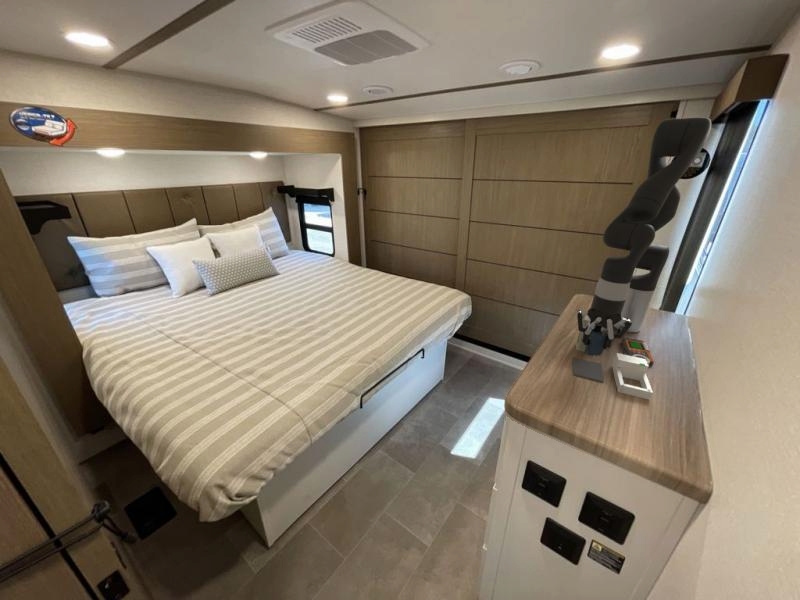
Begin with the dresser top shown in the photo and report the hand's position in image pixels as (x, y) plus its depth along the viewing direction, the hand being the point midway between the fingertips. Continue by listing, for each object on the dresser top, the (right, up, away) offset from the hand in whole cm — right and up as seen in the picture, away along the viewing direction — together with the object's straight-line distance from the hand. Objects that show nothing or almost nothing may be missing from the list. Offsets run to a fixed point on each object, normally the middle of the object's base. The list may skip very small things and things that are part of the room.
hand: (594, 345), depth 93 cm
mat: (0, -8, +4) cm, 9 cm away
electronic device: (+21, -5, +11) cm, 25 cm away
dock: (+12, -9, +2) cm, 15 cm away
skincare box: (+6, -4, +14) cm, 16 cm away
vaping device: (0, -3, +1) cm, 3 cm away
